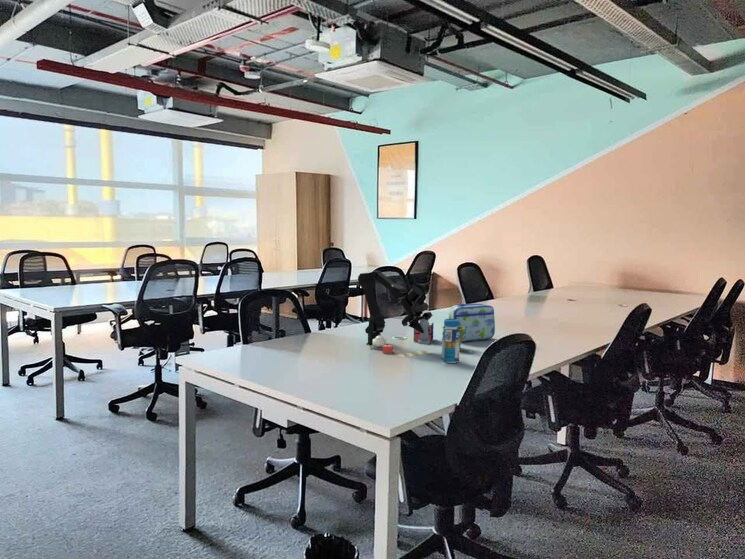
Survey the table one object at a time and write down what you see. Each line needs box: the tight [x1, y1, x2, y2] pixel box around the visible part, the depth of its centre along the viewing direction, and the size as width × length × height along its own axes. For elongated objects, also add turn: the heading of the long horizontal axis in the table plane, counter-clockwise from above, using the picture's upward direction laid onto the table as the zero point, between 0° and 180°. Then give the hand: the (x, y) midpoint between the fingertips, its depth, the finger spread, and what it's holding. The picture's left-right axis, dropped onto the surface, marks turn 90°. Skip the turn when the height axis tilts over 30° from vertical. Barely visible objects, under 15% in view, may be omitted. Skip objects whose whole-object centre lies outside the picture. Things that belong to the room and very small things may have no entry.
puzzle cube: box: [413, 321, 435, 343], centre depth 304 cm, size 10×10×10 cm
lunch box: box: [448, 303, 496, 343], centre depth 307 cm, size 26×11×21 cm, turn 108°
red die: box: [382, 344, 393, 355], centre depth 269 cm, size 4×4×5 cm
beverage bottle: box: [441, 318, 461, 364], centre depth 256 cm, size 8×8×20 cm
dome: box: [373, 335, 387, 347], centre depth 279 cm, size 7×7×5 cm
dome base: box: [370, 345, 383, 351], centre depth 279 cm, size 9×9×2 cm
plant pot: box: [441, 325, 465, 350], centre depth 285 cm, size 12×12×11 cm
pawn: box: [417, 319, 431, 345], centre depth 270 cm, size 6×6×12 cm
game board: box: [398, 350, 432, 358], centre depth 267 cm, size 22×10×1 cm, turn 126°
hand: (426, 332), depth 269 cm, fingers closed on pawn, 4 cm apart
